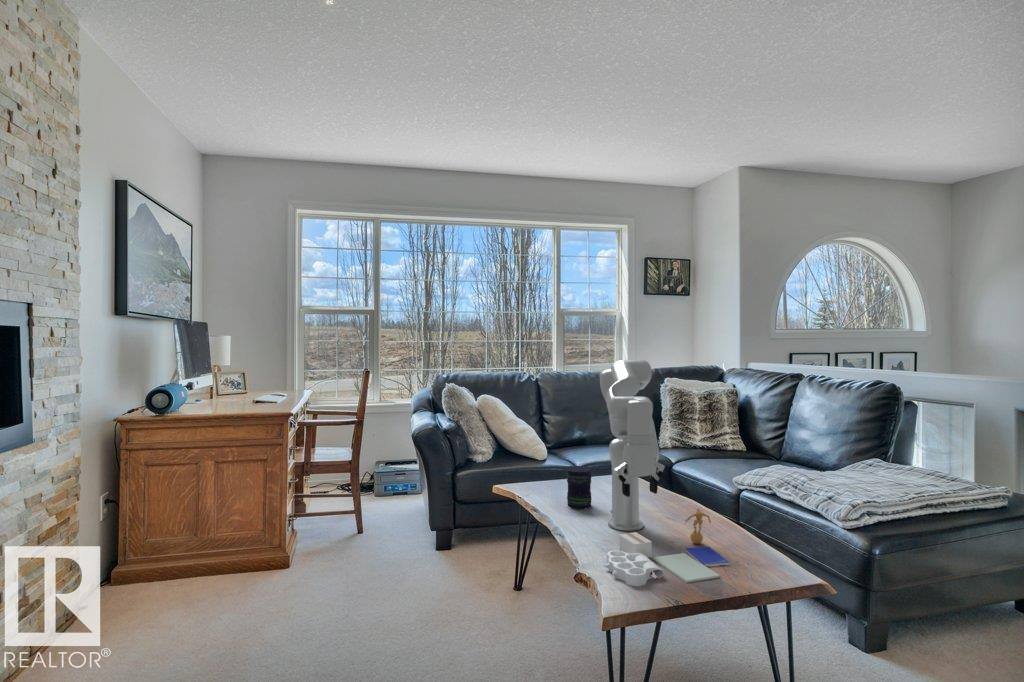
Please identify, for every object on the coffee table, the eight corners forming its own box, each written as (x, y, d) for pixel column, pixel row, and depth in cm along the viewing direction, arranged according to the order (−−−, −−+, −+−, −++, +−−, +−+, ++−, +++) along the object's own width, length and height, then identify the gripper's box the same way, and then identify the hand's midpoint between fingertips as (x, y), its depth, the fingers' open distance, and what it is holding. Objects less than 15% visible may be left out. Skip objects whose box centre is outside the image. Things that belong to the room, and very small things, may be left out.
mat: (652, 559, 166) (652, 557, 166) (683, 554, 169) (683, 553, 169) (686, 582, 149) (686, 580, 149) (720, 577, 153) (720, 575, 153)
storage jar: (565, 502, 225) (565, 466, 225) (589, 501, 226) (588, 466, 226) (569, 509, 215) (568, 472, 215) (593, 509, 216) (593, 471, 216)
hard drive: (730, 561, 161) (709, 546, 173) (703, 563, 160) (685, 547, 172) (730, 566, 161) (709, 551, 173) (704, 568, 160) (685, 552, 172)
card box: (619, 550, 174) (619, 534, 174) (635, 547, 176) (635, 531, 176) (634, 560, 165) (634, 543, 165) (651, 557, 167) (651, 541, 167)
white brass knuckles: (669, 584, 150) (620, 589, 147) (640, 558, 167) (595, 563, 164) (669, 571, 150) (620, 577, 147) (640, 547, 167) (595, 552, 164)
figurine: (706, 541, 181) (706, 505, 181) (713, 547, 175) (713, 510, 175) (682, 541, 181) (681, 505, 181) (688, 548, 174) (687, 510, 174)
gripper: (656, 435, 176) (656, 488, 176) (609, 439, 170) (609, 493, 170) (670, 439, 169) (670, 494, 169) (621, 443, 163) (621, 500, 163)
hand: (639, 494), depth 170 cm, fingers open, 9 cm apart
